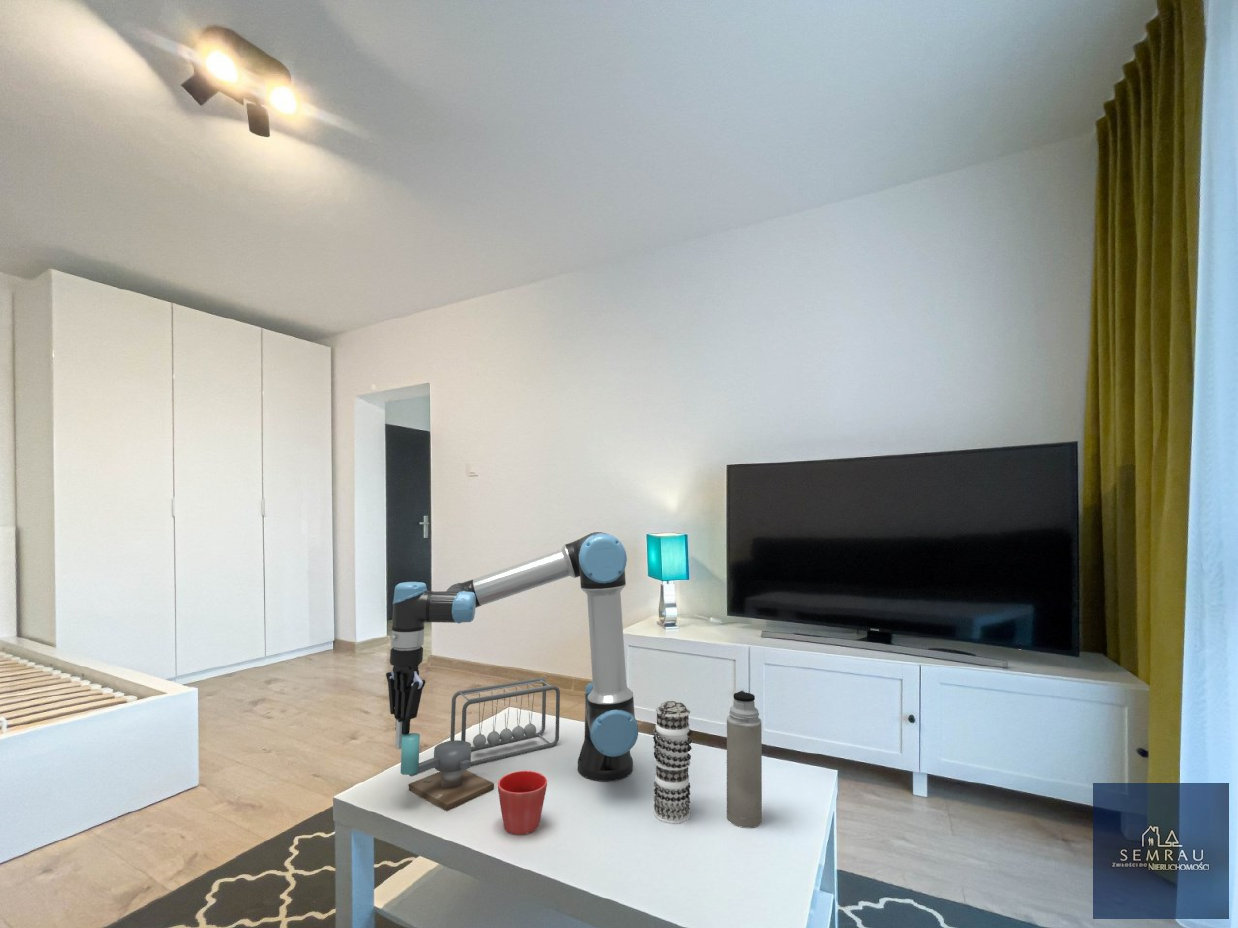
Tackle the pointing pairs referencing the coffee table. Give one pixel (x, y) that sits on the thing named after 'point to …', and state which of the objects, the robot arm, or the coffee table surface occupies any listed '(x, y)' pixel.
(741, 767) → the thermos bottle
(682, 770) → the decorative candle
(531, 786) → the flower pot
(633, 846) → the coffee table surface
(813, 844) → the coffee table surface
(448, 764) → the crank handle
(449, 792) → the post board
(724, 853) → the coffee table surface
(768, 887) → the coffee table surface
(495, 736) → the newton's cradle
